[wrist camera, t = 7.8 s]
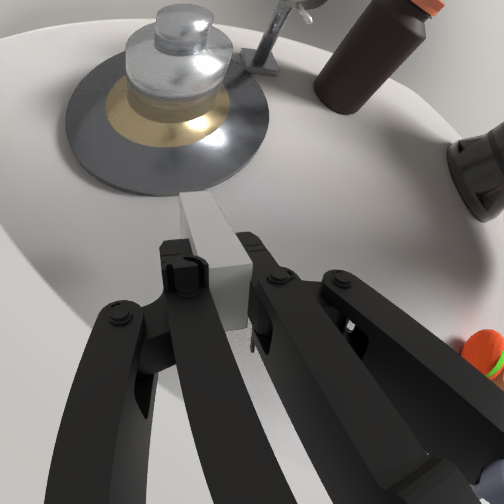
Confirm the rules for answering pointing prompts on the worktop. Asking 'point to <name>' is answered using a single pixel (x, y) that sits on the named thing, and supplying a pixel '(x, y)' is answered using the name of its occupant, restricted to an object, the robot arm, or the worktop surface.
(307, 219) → the worktop surface
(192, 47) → the cover
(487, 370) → the clementine
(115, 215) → the worktop surface
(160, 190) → the grey plate
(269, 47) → the dial gauge stand
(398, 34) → the bottle
